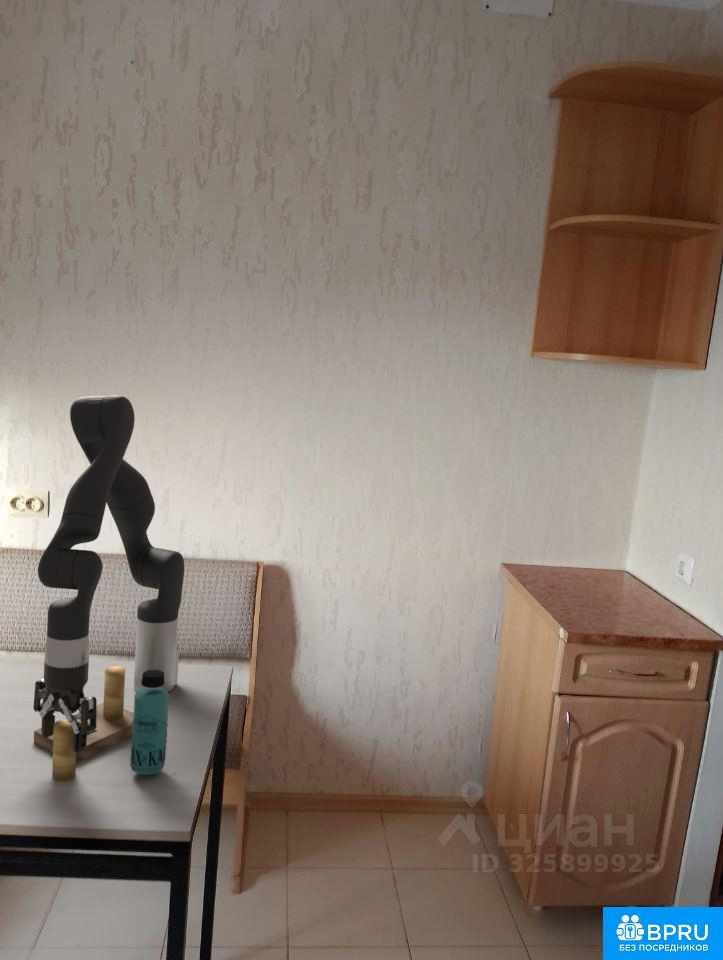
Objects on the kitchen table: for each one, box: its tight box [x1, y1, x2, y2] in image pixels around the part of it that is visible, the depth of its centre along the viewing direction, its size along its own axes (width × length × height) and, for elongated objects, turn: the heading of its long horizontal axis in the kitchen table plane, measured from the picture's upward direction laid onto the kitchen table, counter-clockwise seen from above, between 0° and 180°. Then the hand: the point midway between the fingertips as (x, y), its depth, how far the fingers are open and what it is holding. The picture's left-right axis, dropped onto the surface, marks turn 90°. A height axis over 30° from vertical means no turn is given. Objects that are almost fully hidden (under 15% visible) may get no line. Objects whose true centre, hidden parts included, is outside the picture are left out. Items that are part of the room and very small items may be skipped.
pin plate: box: [33, 665, 134, 763], centre depth 159 cm, size 18×12×12 cm, turn 149°
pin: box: [51, 718, 77, 782], centre depth 144 cm, size 4×4×10 cm
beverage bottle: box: [129, 670, 170, 775], centre depth 147 cm, size 6×7×20 cm
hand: (63, 743), depth 144 cm, fingers open, 8 cm apart
